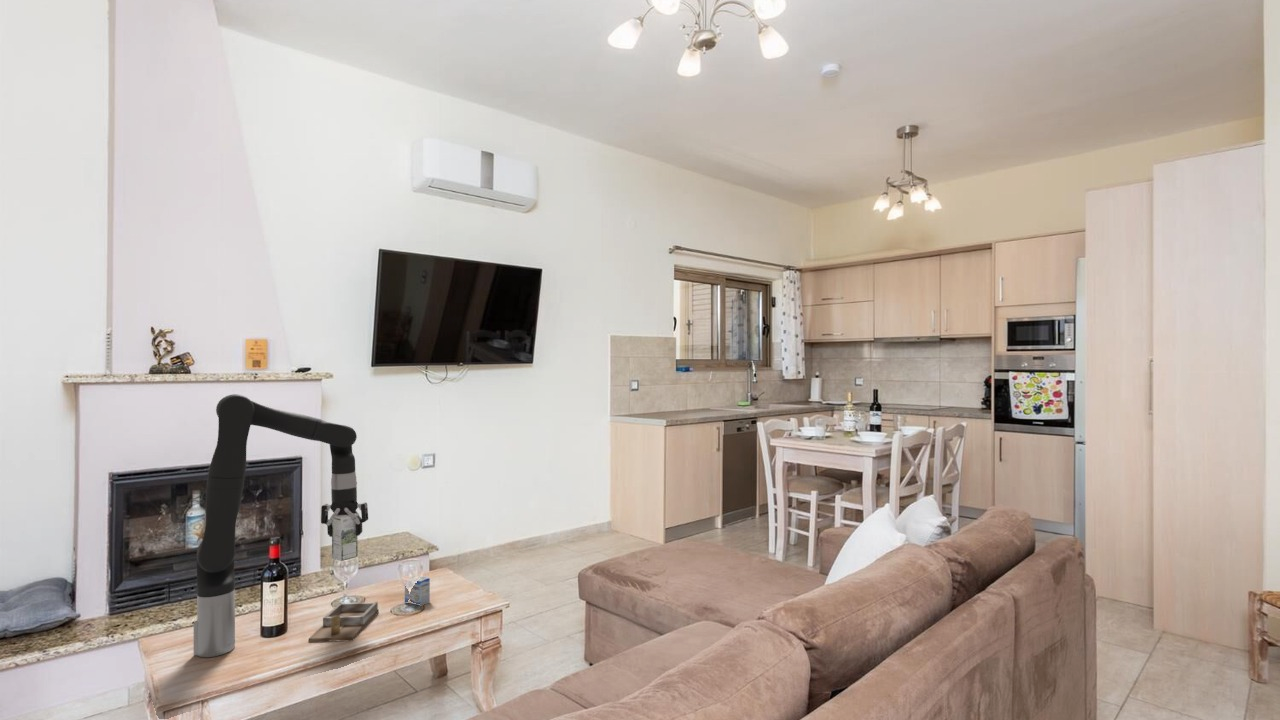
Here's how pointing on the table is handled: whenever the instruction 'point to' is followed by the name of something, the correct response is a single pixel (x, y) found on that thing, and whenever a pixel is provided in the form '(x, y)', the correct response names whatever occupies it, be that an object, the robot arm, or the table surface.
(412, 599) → the medicine box
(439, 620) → the table surface
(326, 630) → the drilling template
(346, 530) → the syrup box
